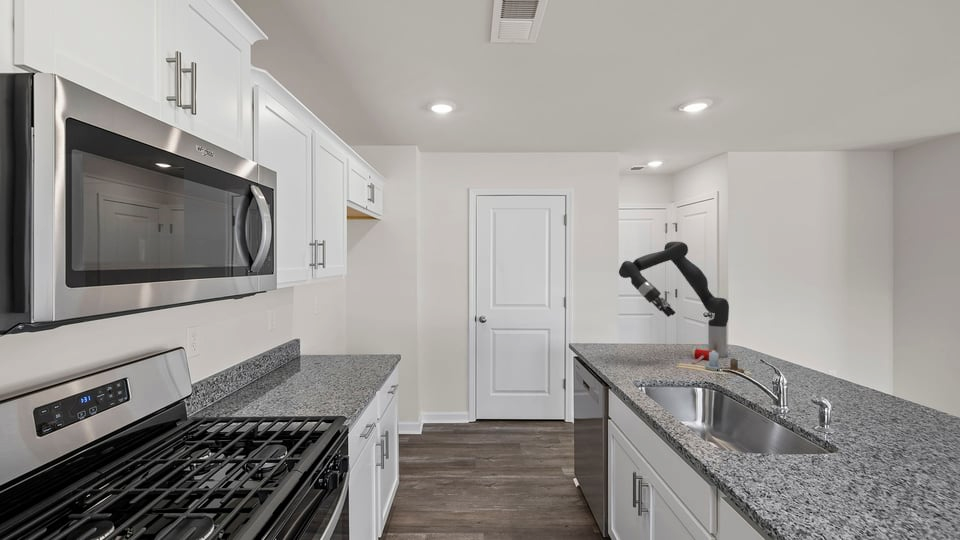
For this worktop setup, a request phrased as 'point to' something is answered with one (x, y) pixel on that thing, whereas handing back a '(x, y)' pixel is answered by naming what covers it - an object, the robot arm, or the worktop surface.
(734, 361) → the gear
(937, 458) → the worktop surface
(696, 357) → the toy hammer
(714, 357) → the gear
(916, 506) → the worktop surface
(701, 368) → the gear board
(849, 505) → the worktop surface
